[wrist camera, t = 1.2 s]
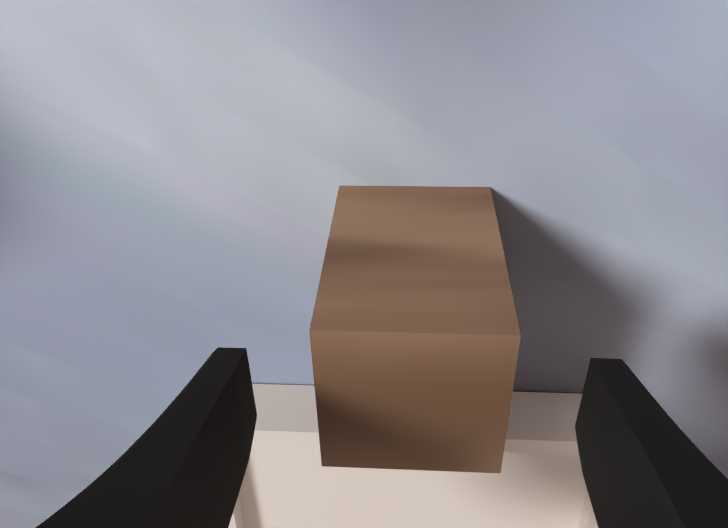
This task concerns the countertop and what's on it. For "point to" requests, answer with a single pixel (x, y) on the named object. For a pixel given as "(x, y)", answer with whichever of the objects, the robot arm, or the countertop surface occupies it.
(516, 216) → the countertop surface
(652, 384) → the countertop surface
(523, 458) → the serving dish
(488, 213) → the walnut block
